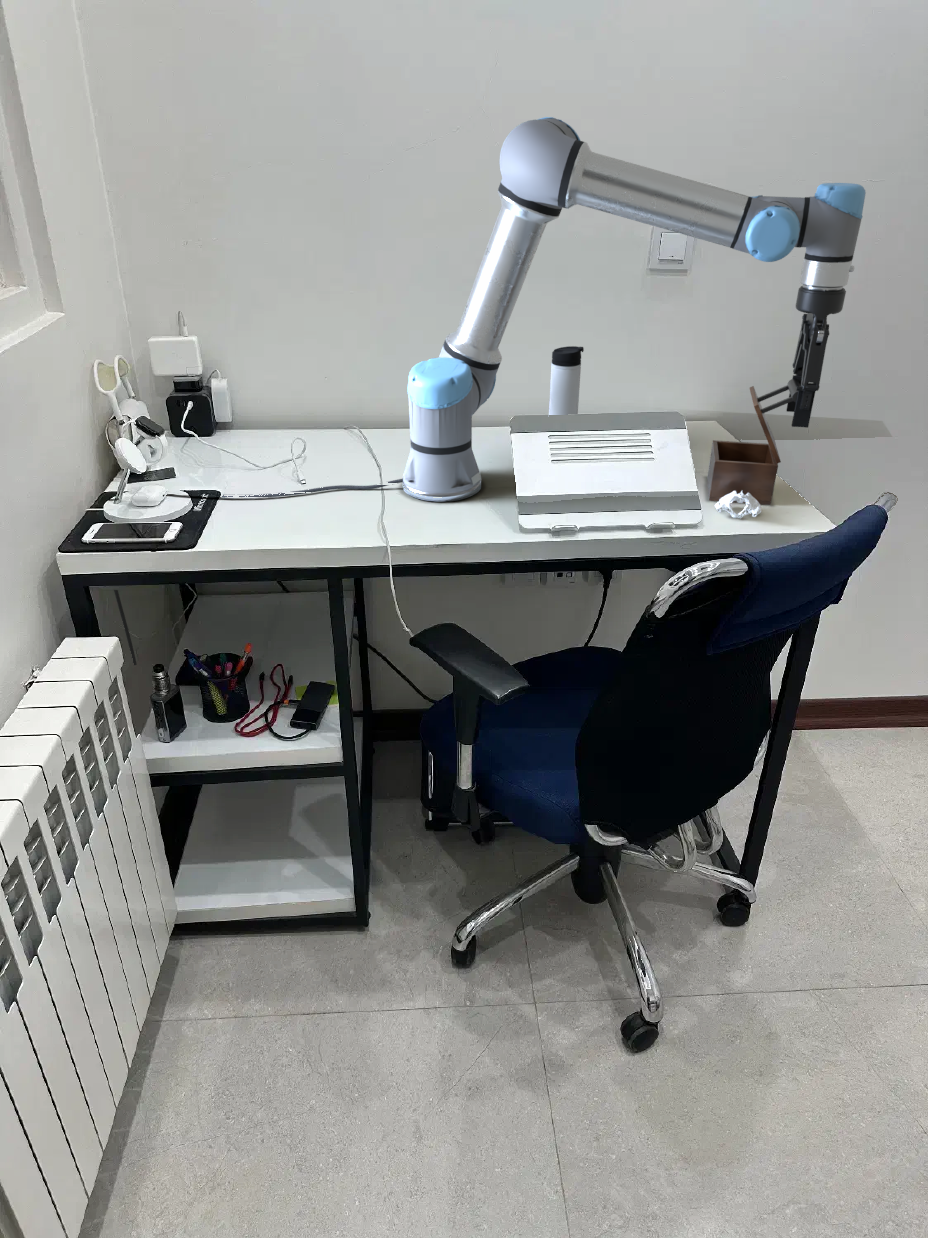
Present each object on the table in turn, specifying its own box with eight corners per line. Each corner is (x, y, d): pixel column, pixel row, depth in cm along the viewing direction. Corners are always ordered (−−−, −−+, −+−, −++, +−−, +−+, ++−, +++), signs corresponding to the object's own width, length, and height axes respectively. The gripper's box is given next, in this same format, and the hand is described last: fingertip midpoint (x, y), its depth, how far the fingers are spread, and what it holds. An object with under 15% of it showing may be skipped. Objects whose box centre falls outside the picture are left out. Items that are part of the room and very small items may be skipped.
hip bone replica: (714, 499, 153) (720, 482, 158) (712, 520, 155) (718, 503, 160) (761, 505, 150) (766, 488, 155) (758, 526, 153) (762, 509, 158)
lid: (753, 406, 151) (801, 386, 148) (749, 387, 161) (793, 368, 158) (776, 463, 156) (823, 445, 152) (770, 442, 165) (814, 424, 162)
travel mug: (576, 444, 188) (582, 351, 178) (546, 442, 189) (550, 349, 179) (578, 435, 193) (585, 344, 183) (549, 433, 194) (553, 342, 184)
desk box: (708, 500, 162) (714, 461, 158) (707, 477, 171) (712, 439, 167) (770, 505, 160) (778, 465, 156) (765, 481, 169) (772, 443, 165)
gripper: (857, 299, 135) (827, 439, 147) (836, 275, 153) (811, 402, 165) (807, 297, 137) (781, 436, 148) (792, 274, 154) (770, 400, 166)
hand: (796, 418), depth 156 cm, fingers closed on lid, 8 cm apart
